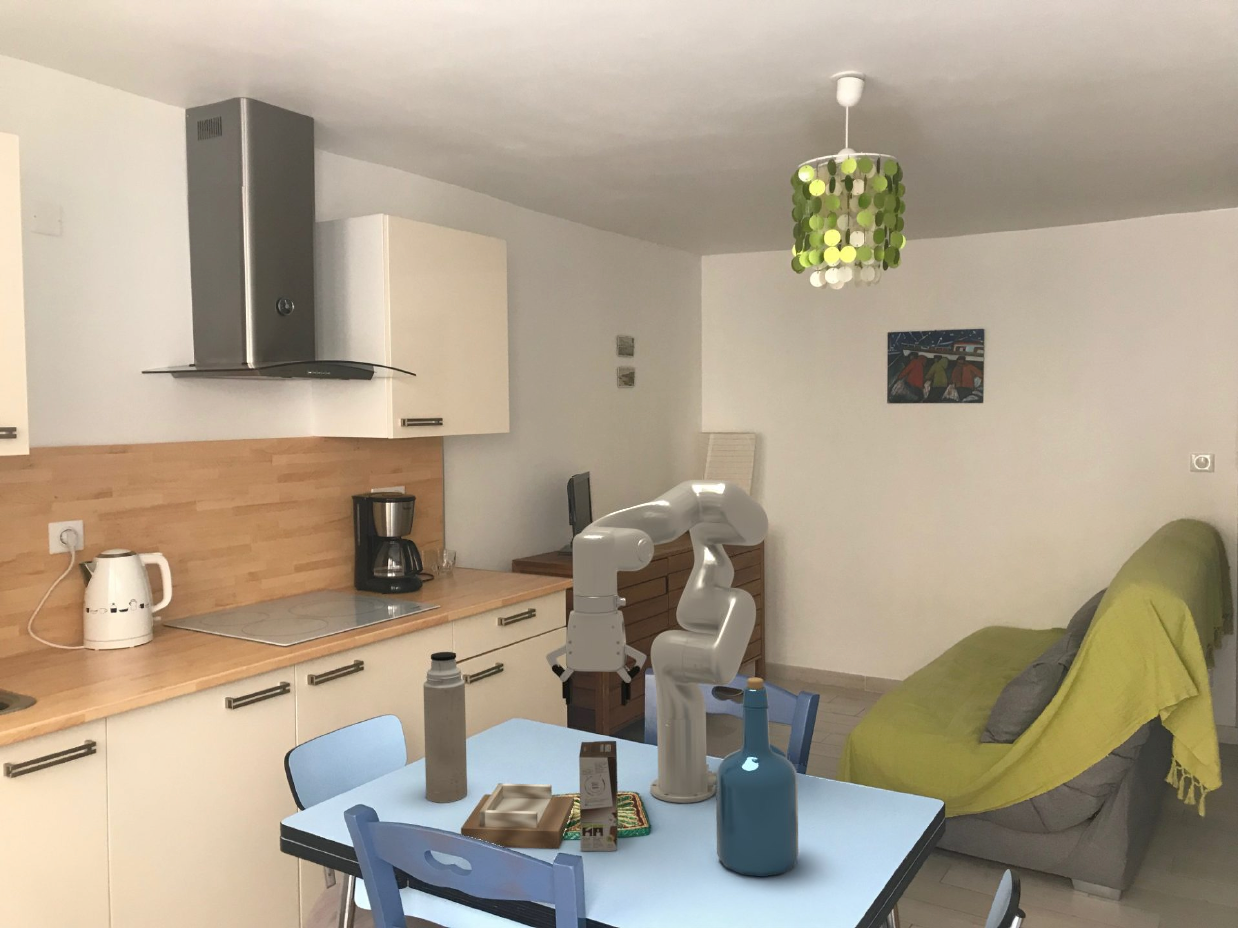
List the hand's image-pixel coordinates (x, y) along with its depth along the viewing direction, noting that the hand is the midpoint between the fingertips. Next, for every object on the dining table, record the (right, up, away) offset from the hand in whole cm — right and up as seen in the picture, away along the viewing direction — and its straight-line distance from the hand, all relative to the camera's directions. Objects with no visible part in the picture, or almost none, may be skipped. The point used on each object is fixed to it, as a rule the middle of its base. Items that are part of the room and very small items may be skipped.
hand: (596, 703), depth 169 cm
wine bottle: (+27, -24, -8) cm, 37 cm away
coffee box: (+1, -24, +1) cm, 24 cm away
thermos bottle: (-30, -24, +24) cm, 45 cm away
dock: (-14, -24, +7) cm, 28 cm away
